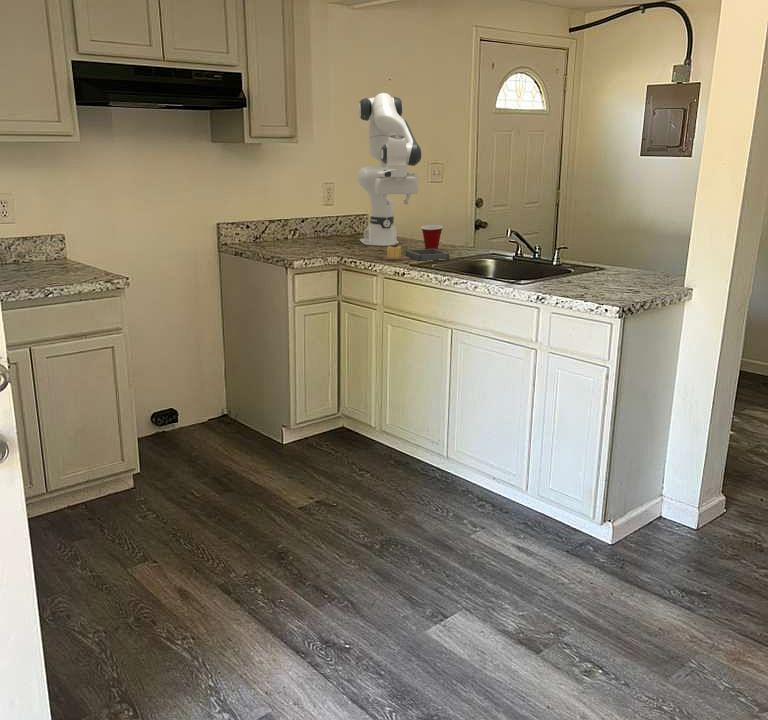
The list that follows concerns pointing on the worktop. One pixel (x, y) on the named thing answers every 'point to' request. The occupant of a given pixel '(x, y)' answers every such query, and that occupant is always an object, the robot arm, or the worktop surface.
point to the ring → (394, 252)
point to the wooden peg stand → (393, 258)
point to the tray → (426, 254)
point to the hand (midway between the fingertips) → (396, 204)
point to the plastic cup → (431, 236)
